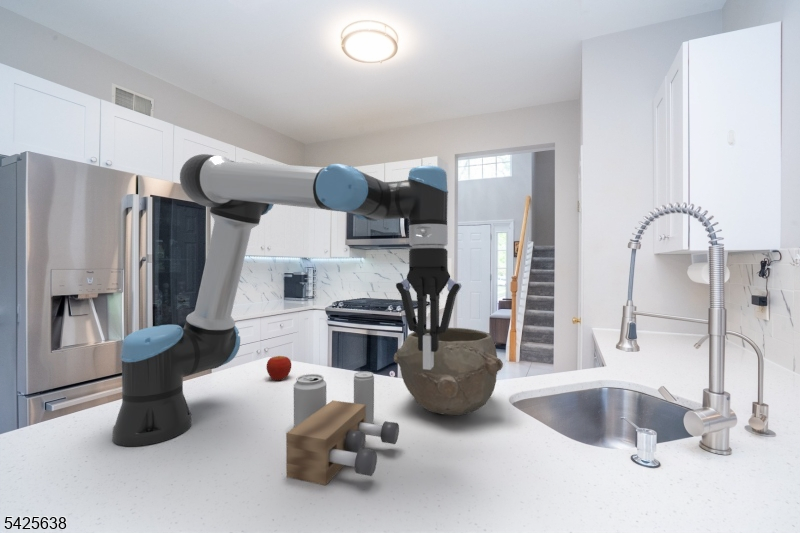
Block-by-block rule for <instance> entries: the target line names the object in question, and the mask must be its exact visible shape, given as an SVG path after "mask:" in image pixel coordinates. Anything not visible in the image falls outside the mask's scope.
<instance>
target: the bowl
mask: <svg viewBox="0 0 800 533" xmlns="http://www.w3.org/2000/svg"><path fill="white" fill-rule="evenodd" d="M426 330H427V331H426V333H430V328H426ZM393 361H394V363H396V364H398V365H399V369H400V373H401V378H402V380H403V383H404V385H405V387H406V388H407V391H408V392H409V393H410V394H411V397H412V398H413V399H414V400H415V402H416V403H418V404H419V405H421V407H423V408H425V410H428V411H429V412H432V413H436V414H439V415H447V416H462V415H465V414H469V413H473V412H475V411H477V410H480V408H482V407H484V406H485V405H486V404H487V403H488V401H489V400H490V399H491V397H492V395H493V393H494V390H495V387H496V383H497V375H498V372H499V371H500V370H502V369H503V366H504V363H503V360H501V358H499V357H498V354H497V348H496V344H495V341H494V338H493V337H492V335H490V333H488V332H485V331H483V330H477V329H472V328H466V327H465V328H463V327H448V330H447V331H445V332H444V333H440V334H439V348H438V350H437V351H436V352H434V366H433V367H432V369H431V370H428V369H423V351H419V349H418V334H417V333H416V332H414V331H412V332H411V333H409V334H408V335H407V336H406V338H405V340H404V342H403V343H402V345H401V346H400V348H397V351H396V352H395V353H394V355H393Z"/></svg>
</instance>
